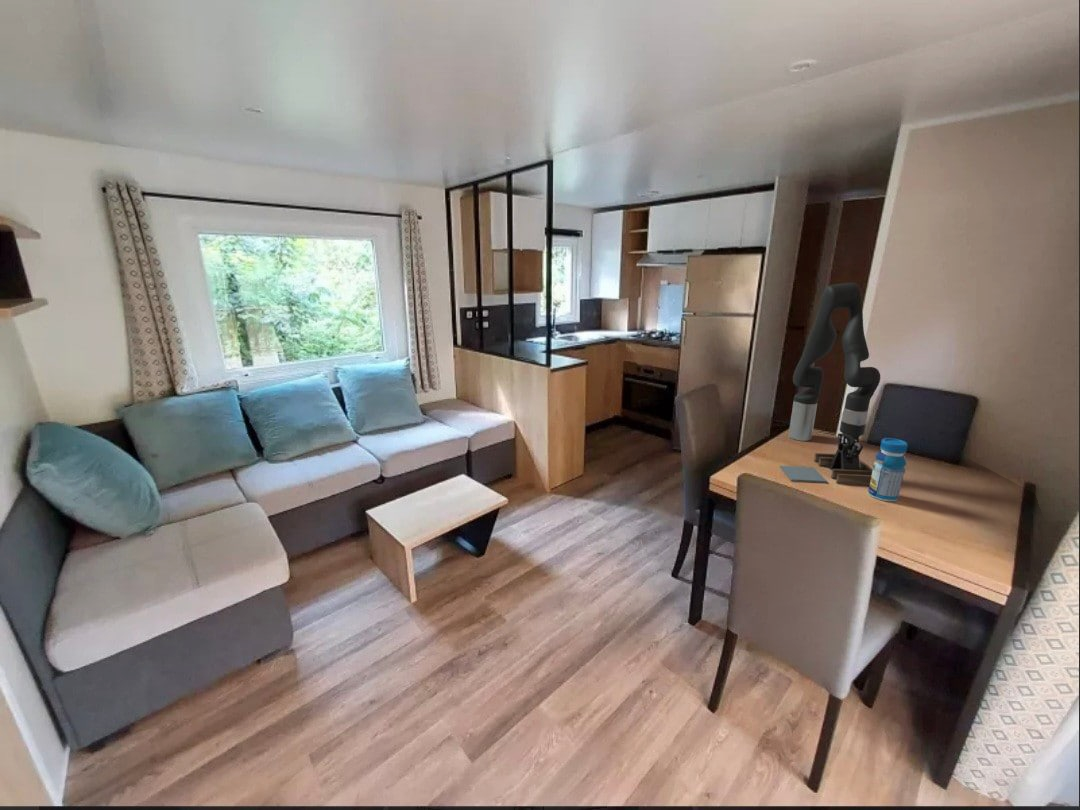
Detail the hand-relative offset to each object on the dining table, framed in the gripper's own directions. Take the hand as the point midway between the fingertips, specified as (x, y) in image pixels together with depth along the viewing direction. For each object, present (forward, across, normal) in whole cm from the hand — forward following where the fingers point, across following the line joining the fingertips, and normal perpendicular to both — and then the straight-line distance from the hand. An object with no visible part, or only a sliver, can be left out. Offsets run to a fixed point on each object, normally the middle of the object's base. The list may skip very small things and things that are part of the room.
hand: (845, 463), depth 165 cm
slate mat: (+4, +4, -16) cm, 17 cm away
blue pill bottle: (+4, +18, +4) cm, 19 cm away
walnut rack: (+4, 0, 0) cm, 4 cm away
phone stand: (+4, 0, 0) cm, 4 cm away
